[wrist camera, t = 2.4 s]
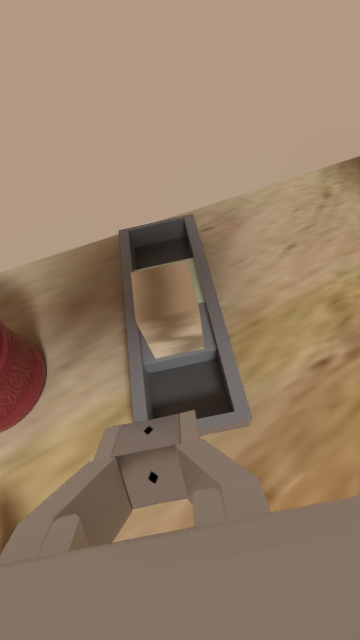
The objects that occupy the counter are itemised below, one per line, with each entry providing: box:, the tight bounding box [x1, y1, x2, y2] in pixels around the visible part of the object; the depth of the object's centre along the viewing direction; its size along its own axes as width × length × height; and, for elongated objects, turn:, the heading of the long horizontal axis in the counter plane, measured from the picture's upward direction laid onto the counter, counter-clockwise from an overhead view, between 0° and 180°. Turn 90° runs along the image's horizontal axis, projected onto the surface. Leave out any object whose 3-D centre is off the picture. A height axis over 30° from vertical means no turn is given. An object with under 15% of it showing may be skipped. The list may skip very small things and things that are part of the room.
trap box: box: [119, 214, 252, 436], centre depth 38 cm, size 12×32×4 cm, turn 10°
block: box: [131, 261, 204, 359], centre depth 32 cm, size 6×6×9 cm
